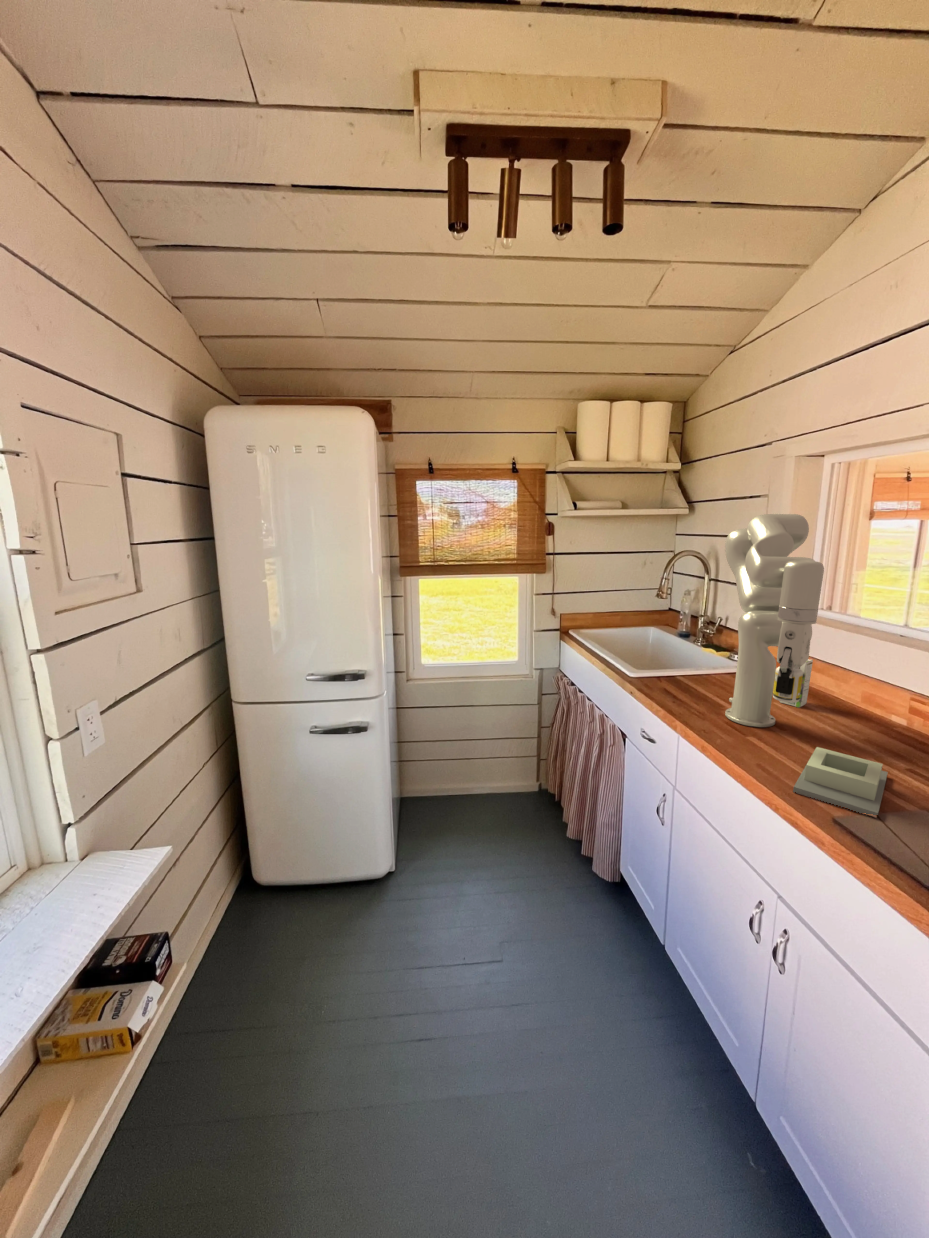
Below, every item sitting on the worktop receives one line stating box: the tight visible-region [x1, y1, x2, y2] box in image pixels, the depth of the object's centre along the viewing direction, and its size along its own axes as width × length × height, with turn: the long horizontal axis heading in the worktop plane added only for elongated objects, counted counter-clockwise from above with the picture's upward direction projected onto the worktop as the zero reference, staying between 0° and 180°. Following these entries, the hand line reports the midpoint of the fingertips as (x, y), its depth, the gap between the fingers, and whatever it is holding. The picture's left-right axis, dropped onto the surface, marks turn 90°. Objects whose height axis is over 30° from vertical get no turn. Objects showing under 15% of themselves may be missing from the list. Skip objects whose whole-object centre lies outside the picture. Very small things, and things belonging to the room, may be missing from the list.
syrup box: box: [779, 658, 814, 709], centre depth 157 cm, size 6×6×14 cm
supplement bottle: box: [772, 662, 803, 703], centre depth 119 cm, size 5×5×10 cm
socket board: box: [792, 746, 889, 816], centre depth 110 cm, size 22×14×5 cm, turn 137°
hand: (786, 689), depth 119 cm, fingers closed on supplement bottle, 5 cm apart
